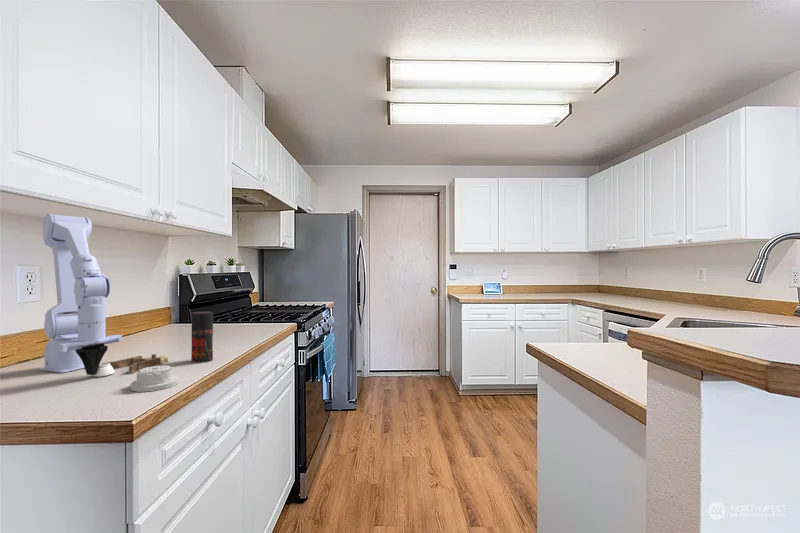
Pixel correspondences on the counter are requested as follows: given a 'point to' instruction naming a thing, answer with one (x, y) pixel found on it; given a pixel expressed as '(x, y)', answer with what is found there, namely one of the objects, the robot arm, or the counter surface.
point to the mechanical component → (154, 379)
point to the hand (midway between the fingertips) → (91, 374)
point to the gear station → (139, 362)
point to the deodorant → (202, 337)
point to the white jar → (104, 370)
